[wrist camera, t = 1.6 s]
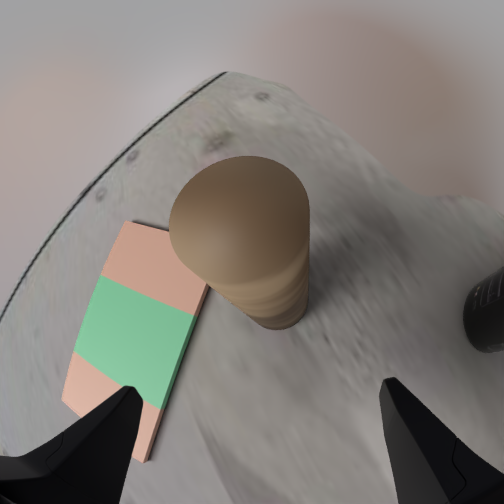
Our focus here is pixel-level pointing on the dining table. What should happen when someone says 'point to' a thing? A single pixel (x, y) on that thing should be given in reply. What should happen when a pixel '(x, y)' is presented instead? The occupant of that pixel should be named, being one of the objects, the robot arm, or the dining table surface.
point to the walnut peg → (247, 237)
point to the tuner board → (135, 328)
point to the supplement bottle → (486, 314)
